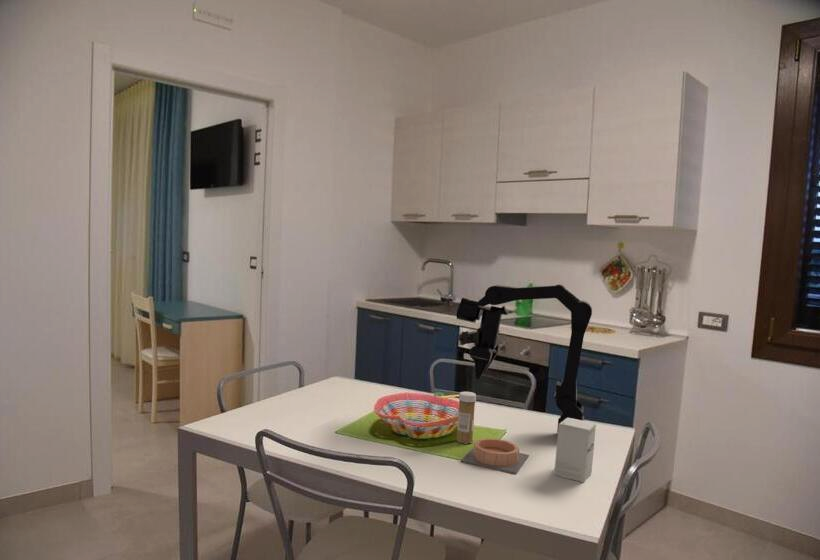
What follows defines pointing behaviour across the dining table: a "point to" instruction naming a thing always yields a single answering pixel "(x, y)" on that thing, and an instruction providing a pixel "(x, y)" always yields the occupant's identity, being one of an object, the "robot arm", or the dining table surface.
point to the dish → (496, 455)
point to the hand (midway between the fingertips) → (480, 376)
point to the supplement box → (575, 449)
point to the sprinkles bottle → (466, 417)
